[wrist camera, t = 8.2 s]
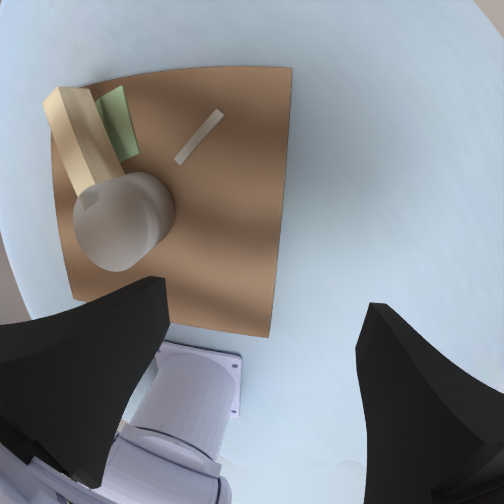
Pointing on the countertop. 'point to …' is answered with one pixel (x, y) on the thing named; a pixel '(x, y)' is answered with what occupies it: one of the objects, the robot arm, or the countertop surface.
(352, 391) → the countertop surface
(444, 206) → the countertop surface
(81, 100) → the beige elongated block piece
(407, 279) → the countertop surface
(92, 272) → the base
